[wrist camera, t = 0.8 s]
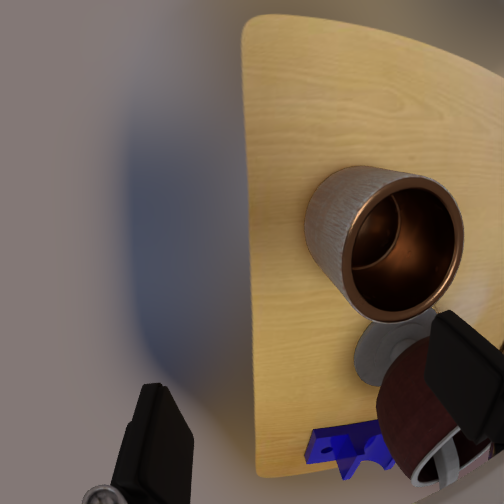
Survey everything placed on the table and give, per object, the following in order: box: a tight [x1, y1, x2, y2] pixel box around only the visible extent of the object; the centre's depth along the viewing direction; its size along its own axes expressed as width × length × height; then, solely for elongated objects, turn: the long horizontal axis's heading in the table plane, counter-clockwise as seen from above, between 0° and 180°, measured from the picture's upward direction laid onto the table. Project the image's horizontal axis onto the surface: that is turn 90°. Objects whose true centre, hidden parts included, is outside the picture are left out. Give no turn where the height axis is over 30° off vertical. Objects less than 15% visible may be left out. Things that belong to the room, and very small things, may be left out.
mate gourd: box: [354, 308, 491, 490], centre depth 23 cm, size 16×14×20 cm
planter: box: [304, 166, 464, 324], centre depth 23 cm, size 11×11×10 cm
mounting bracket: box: [304, 419, 395, 480], centre depth 35 cm, size 18×7×6 cm, turn 87°
